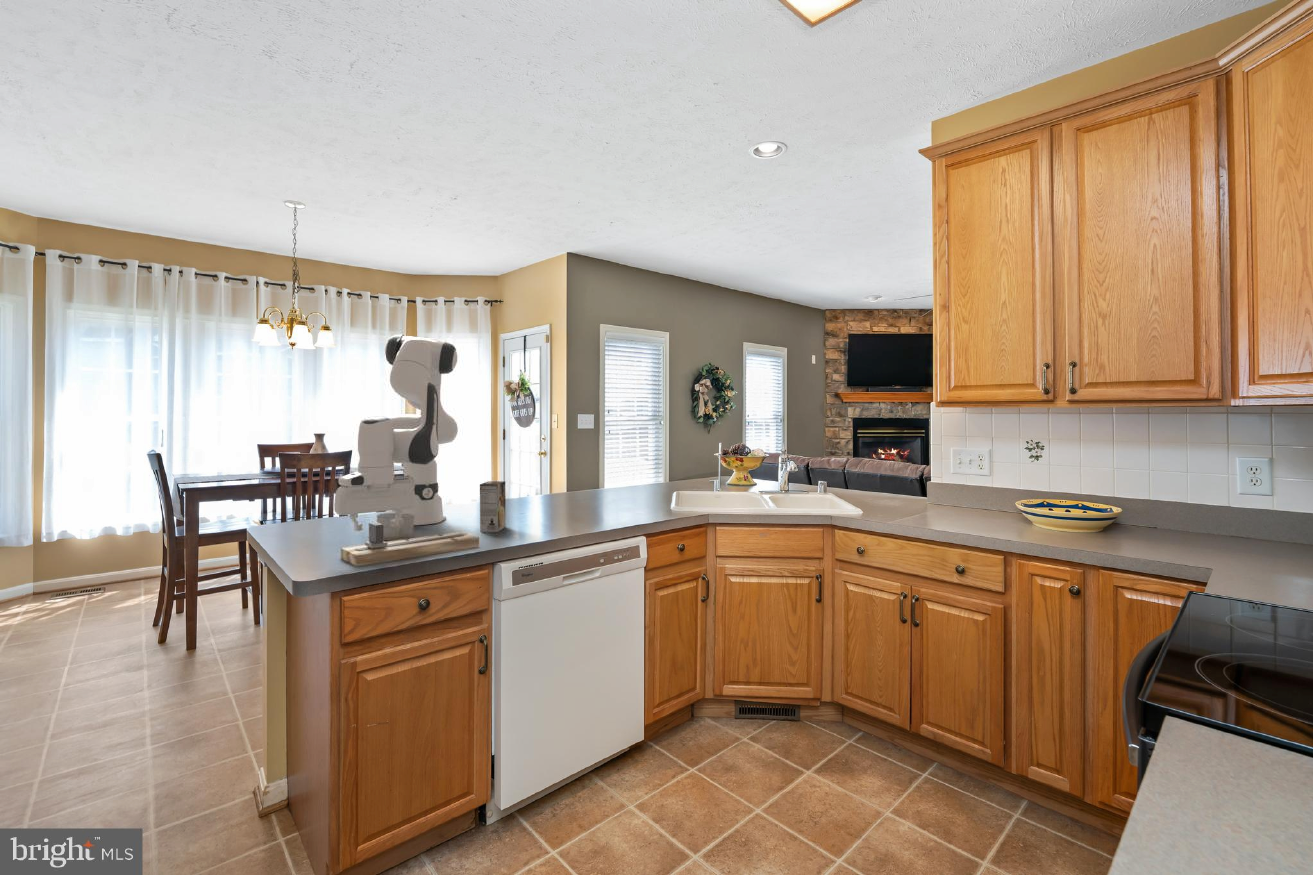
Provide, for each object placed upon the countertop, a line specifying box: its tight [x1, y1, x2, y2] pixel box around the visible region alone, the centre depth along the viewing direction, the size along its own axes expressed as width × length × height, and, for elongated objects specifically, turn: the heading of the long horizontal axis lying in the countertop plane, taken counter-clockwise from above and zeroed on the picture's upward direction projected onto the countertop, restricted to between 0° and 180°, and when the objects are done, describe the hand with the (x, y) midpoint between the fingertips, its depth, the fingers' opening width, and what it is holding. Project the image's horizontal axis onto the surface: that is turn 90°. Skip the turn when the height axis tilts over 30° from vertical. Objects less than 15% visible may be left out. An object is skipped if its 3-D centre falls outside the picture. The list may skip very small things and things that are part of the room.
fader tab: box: [364, 521, 388, 548], centre depth 163 cm, size 5×4×6 cm
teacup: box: [376, 512, 415, 542], centre depth 186 cm, size 14×11×8 cm
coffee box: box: [479, 480, 507, 533], centre depth 205 cm, size 9×6×16 cm
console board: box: [340, 531, 480, 567], centre depth 170 cm, size 12×34×3 cm, turn 135°
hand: (376, 528), depth 163 cm, fingers open, 8 cm apart
